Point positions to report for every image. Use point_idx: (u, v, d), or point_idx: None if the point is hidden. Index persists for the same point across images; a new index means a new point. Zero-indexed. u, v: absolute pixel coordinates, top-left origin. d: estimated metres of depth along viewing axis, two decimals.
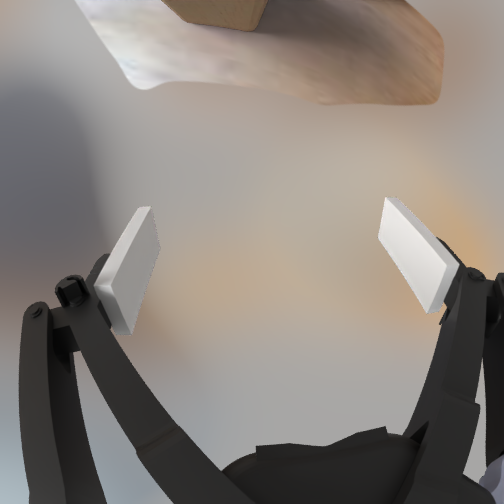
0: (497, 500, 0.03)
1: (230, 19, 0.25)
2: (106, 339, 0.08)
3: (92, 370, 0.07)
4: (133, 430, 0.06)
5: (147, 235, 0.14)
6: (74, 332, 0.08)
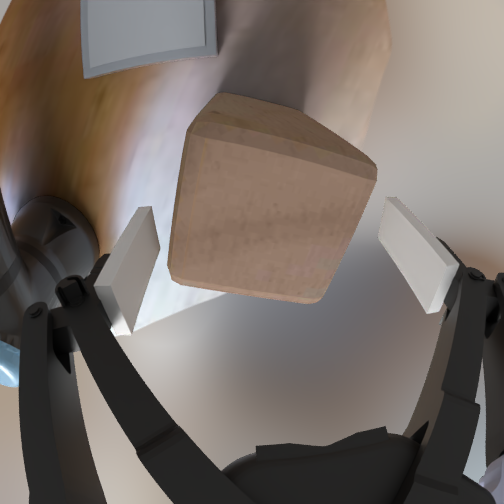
0: (497, 500, 0.03)
1: None
2: (106, 339, 0.08)
3: (92, 370, 0.07)
4: (133, 430, 0.06)
5: (147, 235, 0.14)
6: (74, 332, 0.08)
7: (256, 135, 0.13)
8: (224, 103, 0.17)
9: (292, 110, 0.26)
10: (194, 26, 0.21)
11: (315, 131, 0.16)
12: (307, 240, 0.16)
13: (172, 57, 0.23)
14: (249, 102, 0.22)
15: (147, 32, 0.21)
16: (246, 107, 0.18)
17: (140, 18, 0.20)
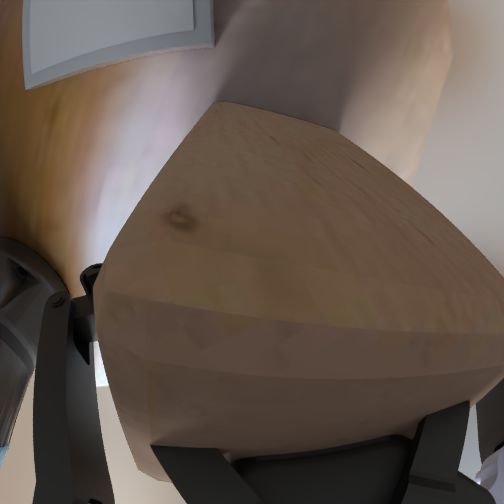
0: (496, 496, 0.03)
1: None
2: None
3: None
4: None
5: None
6: None
7: (333, 339, 0.03)
8: (220, 138, 0.08)
9: (330, 133, 0.17)
10: (177, 0, 0.12)
11: (423, 223, 0.07)
12: None
13: (143, 50, 0.14)
14: (267, 124, 0.13)
15: (106, 14, 0.12)
16: (267, 145, 0.09)
17: None
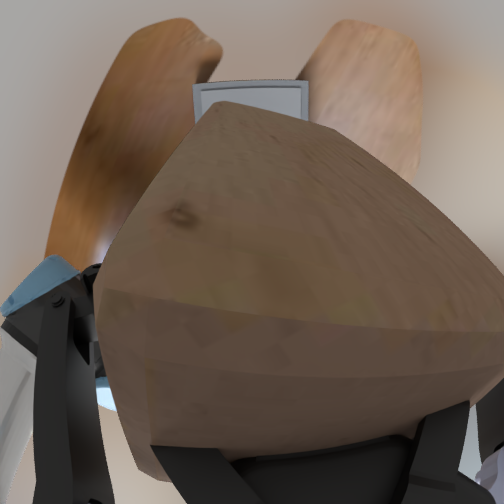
0: (496, 496, 0.03)
1: None
2: None
3: None
4: None
5: None
6: None
7: (334, 338, 0.03)
8: (221, 137, 0.08)
9: (331, 133, 0.17)
10: None
11: (424, 222, 0.07)
12: None
13: None
14: (267, 123, 0.13)
15: None
16: (268, 144, 0.09)
17: None
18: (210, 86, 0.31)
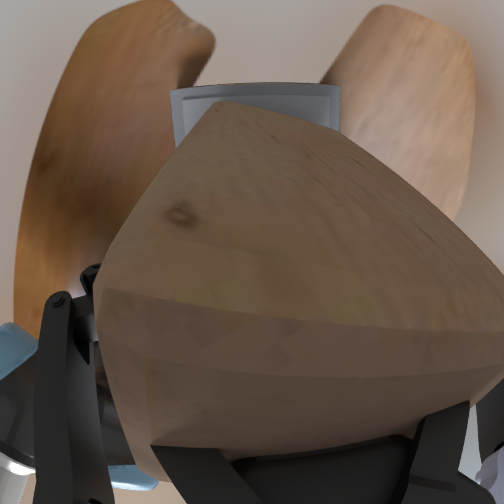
0: (496, 496, 0.03)
1: None
2: None
3: None
4: None
5: None
6: None
7: (336, 337, 0.03)
8: (221, 137, 0.08)
9: (331, 133, 0.17)
10: None
11: (424, 222, 0.07)
12: None
13: None
14: (267, 123, 0.13)
15: None
16: (268, 144, 0.09)
17: None
18: (196, 92, 0.21)
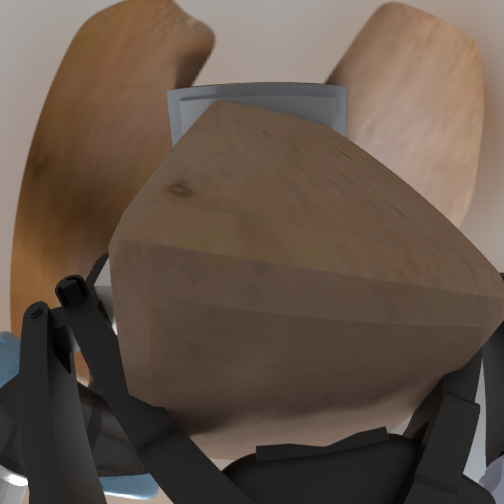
0: (497, 500, 0.03)
1: None
2: (107, 339, 0.08)
3: (92, 370, 0.07)
4: (133, 430, 0.06)
5: None
6: (74, 332, 0.08)
7: (300, 279, 0.04)
8: (216, 132, 0.09)
9: (323, 129, 0.18)
10: None
11: (399, 202, 0.08)
12: (370, 418, 0.07)
13: None
14: (261, 120, 0.14)
15: None
16: (259, 138, 0.10)
17: None
18: (194, 93, 0.20)
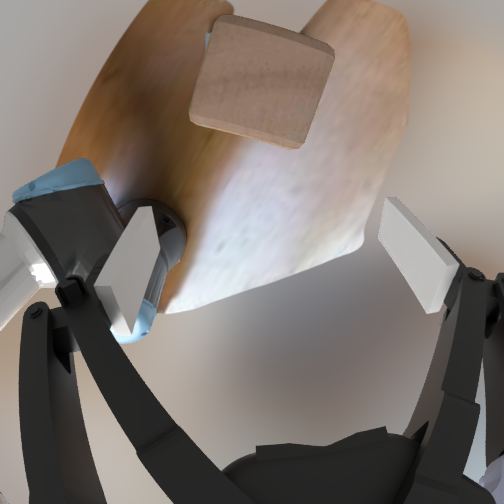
0: (497, 500, 0.03)
1: None
2: (106, 339, 0.08)
3: (92, 370, 0.07)
4: (133, 430, 0.06)
5: (147, 235, 0.14)
6: (74, 332, 0.08)
7: (256, 24, 0.17)
8: None
9: None
10: None
11: None
12: (288, 90, 0.20)
13: None
14: None
15: None
16: None
17: None
18: None
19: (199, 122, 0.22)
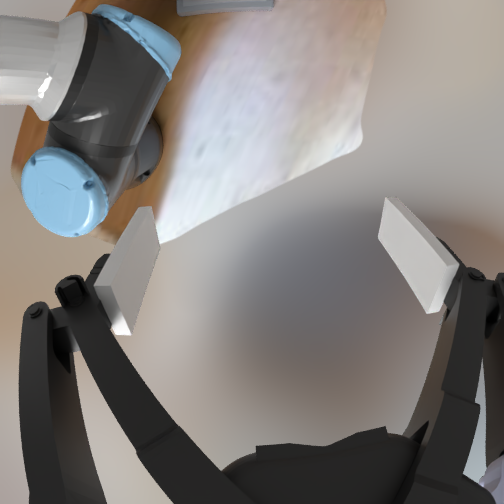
0: (497, 500, 0.03)
1: None
2: (106, 339, 0.08)
3: (92, 370, 0.07)
4: (133, 430, 0.06)
5: (147, 235, 0.14)
6: (74, 332, 0.08)
7: None
8: None
9: None
10: None
11: None
12: None
13: (243, 6, 0.32)
14: None
15: None
16: None
17: None
18: None
19: None
